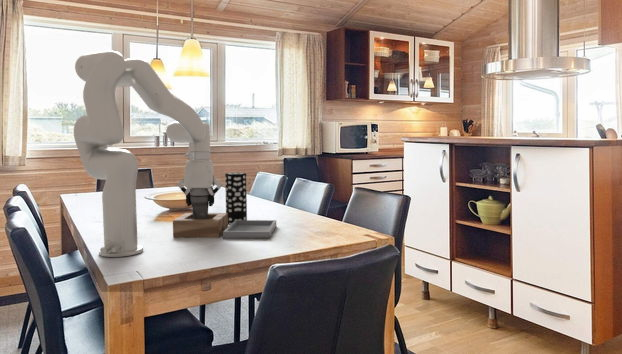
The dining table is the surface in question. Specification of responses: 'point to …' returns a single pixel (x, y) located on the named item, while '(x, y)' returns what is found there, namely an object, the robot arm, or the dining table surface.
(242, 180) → the spotted tube
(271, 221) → the slate tray
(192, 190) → the beverage cup
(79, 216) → the dining table surface
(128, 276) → the dining table surface
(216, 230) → the walnut sleeve
